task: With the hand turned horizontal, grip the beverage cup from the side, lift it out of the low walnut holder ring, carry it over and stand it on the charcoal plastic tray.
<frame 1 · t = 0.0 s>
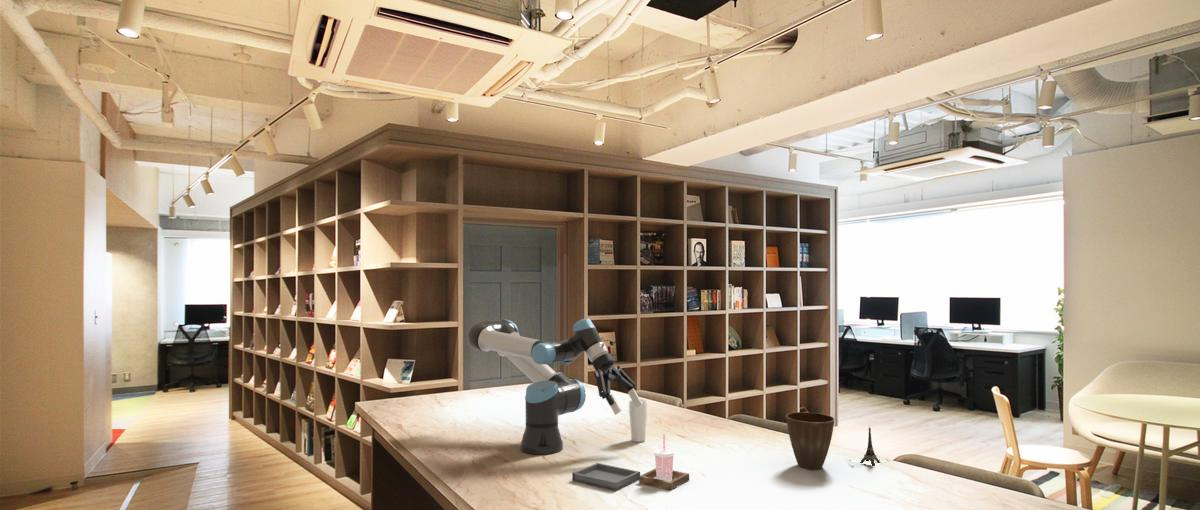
hand: (629, 409, 217), 15 cm above the table, tool tilted 35°, fingers open, 13 cm apart
white tumbler: (638, 441, 234), on the table
eiffel tower figurine: (870, 465, 205), on the table
plant pot: (810, 467, 201), on the table
holder: (664, 481, 186), on the table
tray: (606, 480, 188), on the table
beverage cup: (664, 482, 186), resting in holder
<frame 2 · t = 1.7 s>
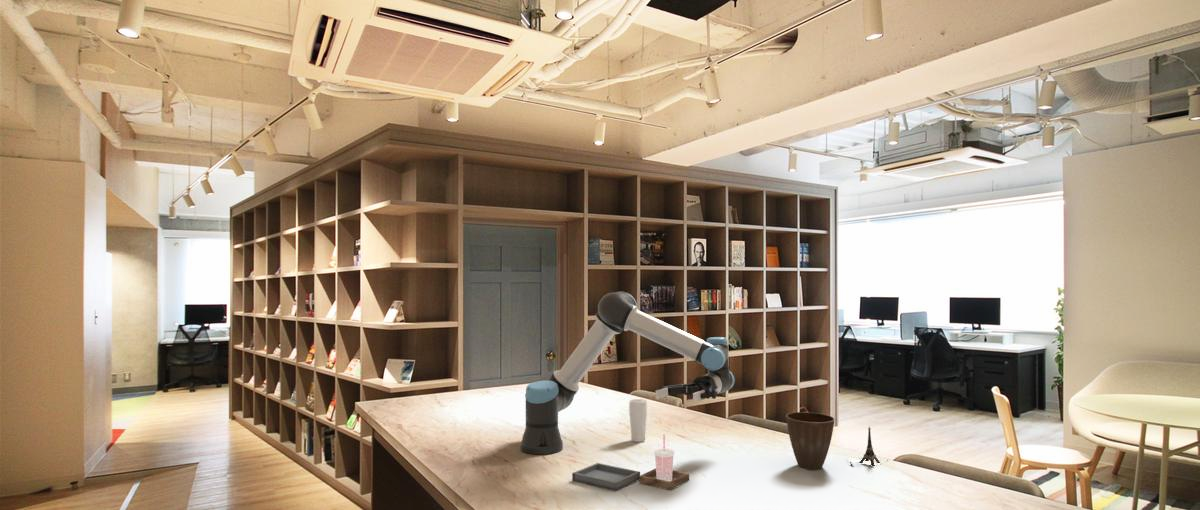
hand: (674, 396, 195), 24 cm above the table, tool horizontal, fingers open, 13 cm apart
nothing on the table moved.
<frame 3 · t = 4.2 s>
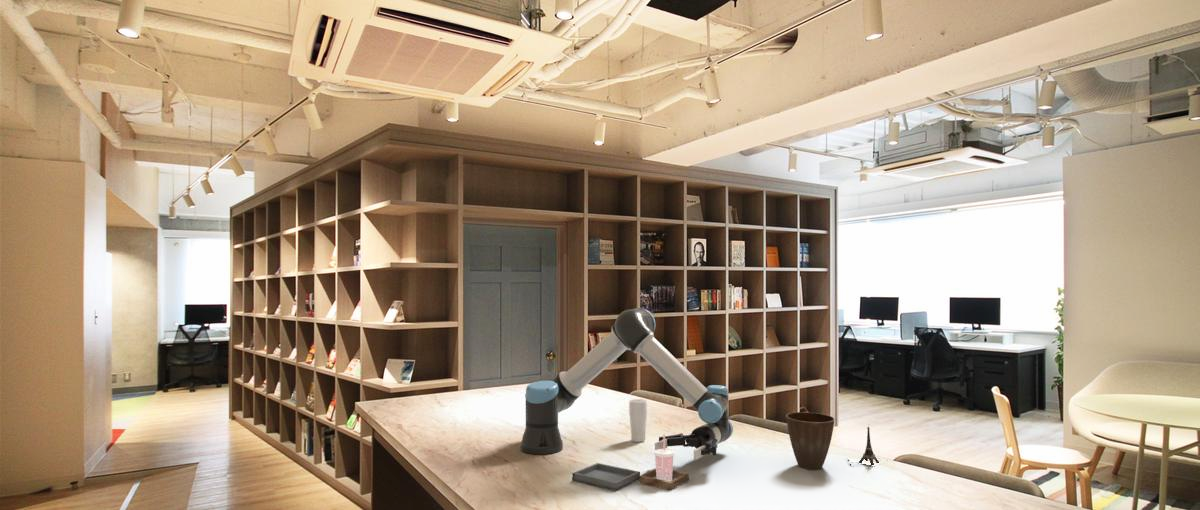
hand: (674, 451, 191), 8 cm above the table, tool horizontal, fingers open, 13 cm apart
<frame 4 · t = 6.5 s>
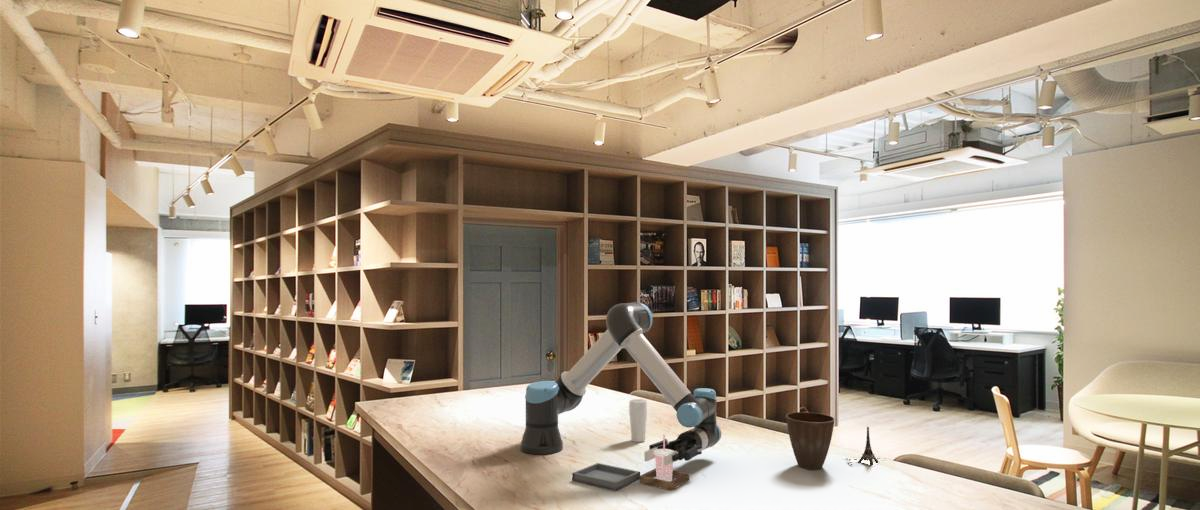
hand: (655, 458, 183), 8 cm above the table, tool horizontal, fingers closed on beverage cup, 6 cm apart
beverage cup: (664, 482, 186), resting in holder, touching gripper
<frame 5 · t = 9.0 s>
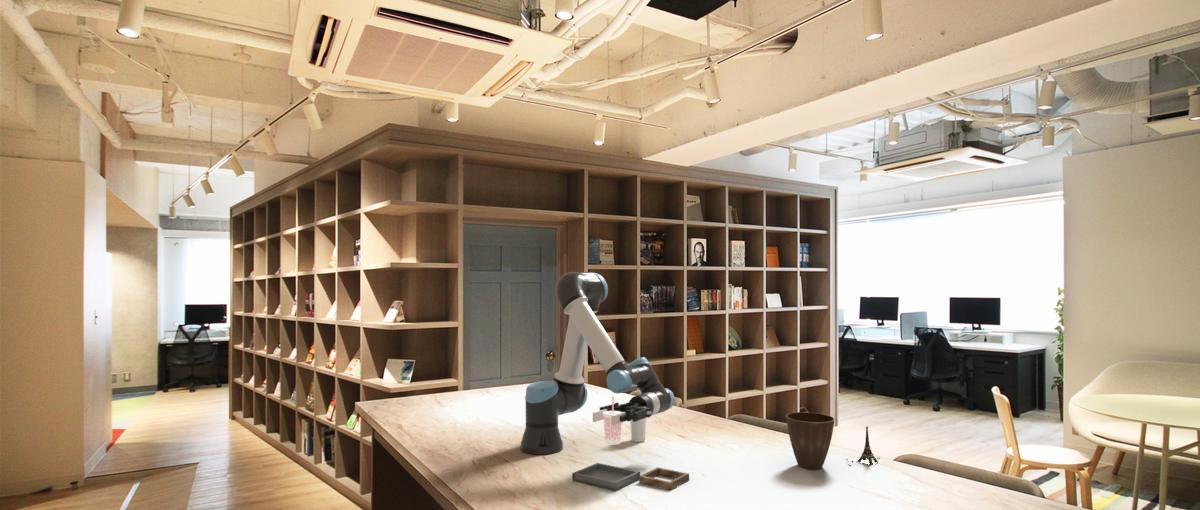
hand: (603, 418, 184), 19 cm above the table, tool horizontal, fingers closed on beverage cup, 6 cm apart
beverage cup: (612, 443, 188), point 11 cm above the table, touching gripper
when the fingers open (10 cm above the table, at t = 11.5 s): beverage cup stays where it is, resting on tray.
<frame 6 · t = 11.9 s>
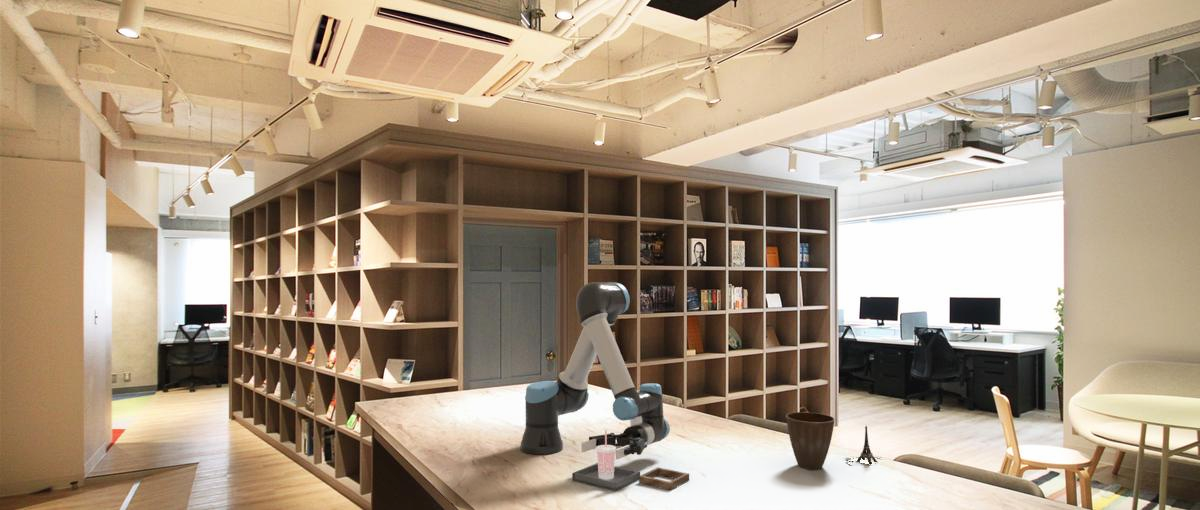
hand: (599, 451, 185), 10 cm above the table, tool horizontal, fingers open, 12 cm apart
beverage cup: (606, 478, 188), point 1 cm above the table, touching tray
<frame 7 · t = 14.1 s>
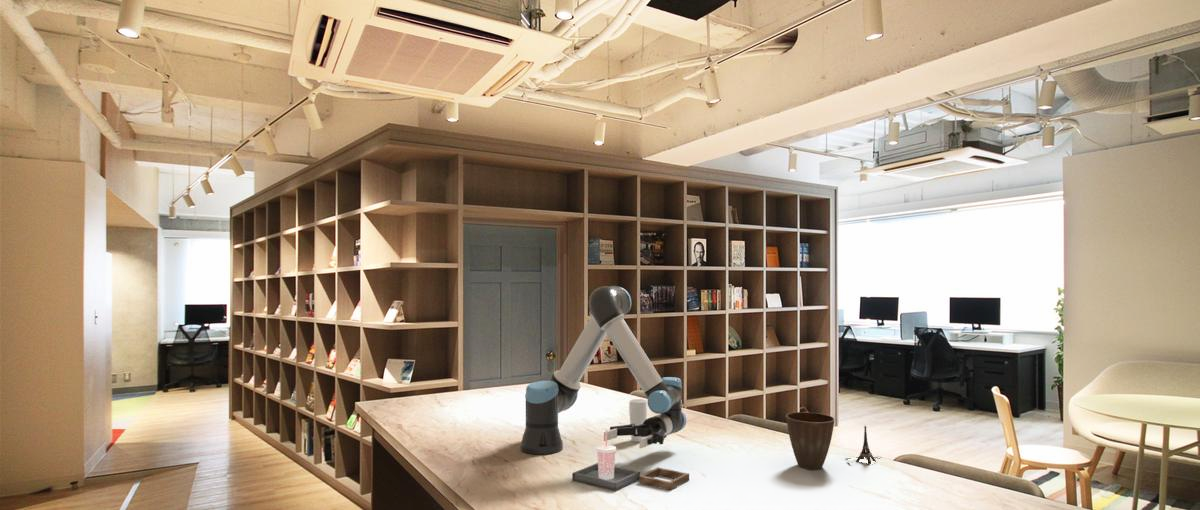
hand: (622, 440, 195), 10 cm above the table, tool horizontal, fingers open, 13 cm apart
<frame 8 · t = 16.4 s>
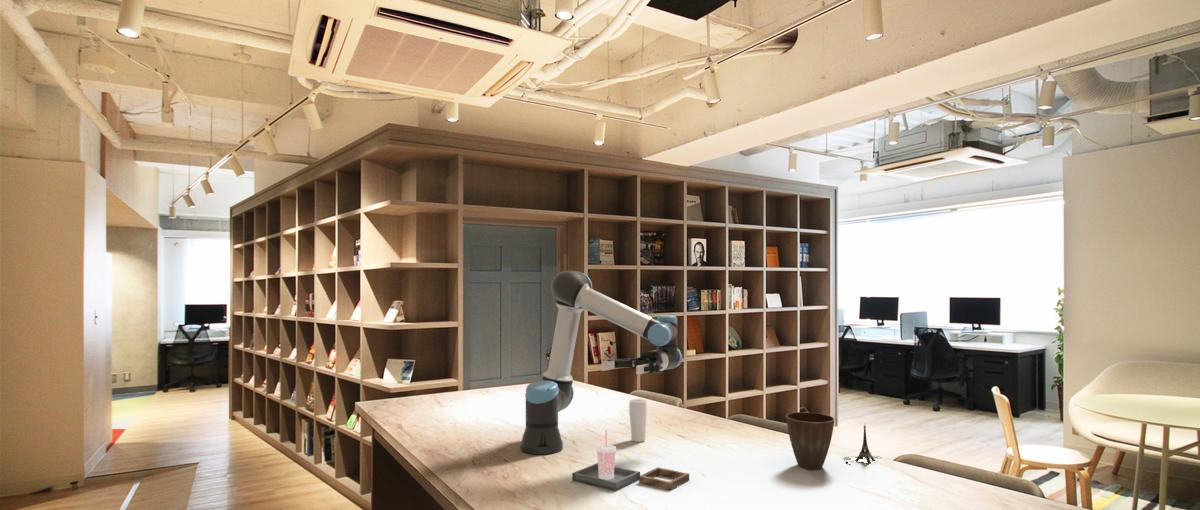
hand: (619, 368, 200), 32 cm above the table, tool horizontal, fingers open, 13 cm apart
at the end: beverage cup inside the target area on the tray (0.0 cm from its centre), point 0.6 cm above the tray's base; beverage cup tilted 0°; the gripper is holding nothing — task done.
